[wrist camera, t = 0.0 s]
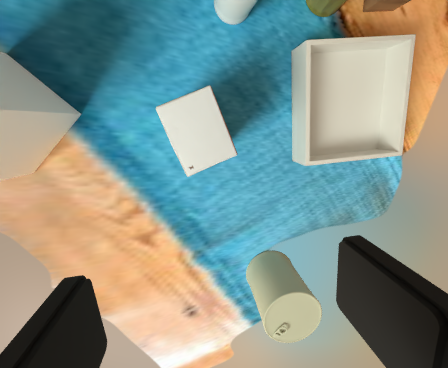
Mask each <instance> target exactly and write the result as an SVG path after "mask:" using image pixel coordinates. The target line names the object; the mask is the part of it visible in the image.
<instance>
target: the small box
mask: <svg viewBox="0 0 448 368" xmlns="http://www.w3.org/2000/svg"><path fill="white" fill-rule="evenodd" d="M156 111H157V113H158V115H159V118H160V120H161V122H162V124H163V127H164V129H165V131H166V133H167V136H168V138H169V140H170V142H171V145H172V147H173V149H174V151H175V153H176V155H177V157H178V159H179V161H180V163H181V165H182V167H183V169H184V171H185V173H186V175H187V177H189V176H191V175H193V174H195V173H197V172H200V171H202V170H204V169H206V168H209V167H211V166H213V165H215V164H217V163H220V162H222V161H224V160H227V159H229V158H231V157H234V156H236V155H237V152H236V149H235V146H234V144H233V141H232V139H231V136H230V133H229V131H228V128H227V126H226V123H225V121H224V118H223V116H222V113H221V111H220V108H219V106H218V103H217V101H216V98H215V95H214V93H213V90H212V88H211V86H207V87H204V88H202V89H199V90H197V91H194V92H192V93H189V94H187V95H184V96H182V97H179V98H177V99H174V100H172V101H169V102H167V103H164V104H162V105H160V106H157V107H156Z"/></svg>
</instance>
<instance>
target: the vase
mask: <svg viewBox="0 0 448 368" xmlns="http://www.w3.org/2000/svg"><path fill="white" fill-rule="evenodd" d="M346 1H347V0H306V3H307V6H308V7H309V9H310V10H311V12H312V13H314V14H315V15H317V16H320V17H327V16H330V15H332V14H333V13H335V12H336V11H337V10H338V9H339V8H340V7H341V6H342V5H343V4H344V3H345V2H346Z"/></svg>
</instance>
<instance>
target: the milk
mask: <svg viewBox="0 0 448 368" xmlns="http://www.w3.org/2000/svg"><path fill="white" fill-rule="evenodd" d="M80 115H81V114H80V113H79V112H78V111H77V110H75V109H74V108H73V107H72V106H70V105H69V104H68V103H67V102H66V101H64V100H63V99H62V98H61V97H59V96H58V95H57V94H56V93H54V92H53V91H52V90H51V89H49V88H48V87H47V86H46V85H44V84H43V83H42V82H41V81H40V80H38V79H37V78H36V77H35V76H33V75H32V74H31V73H30V72H28V71H27V70H26V69H25V68H23V67H22V66H21V65H20V64H19V63H17V62H16V61H15V60H14V59H12V58H11V57H10V56H9V55H7V54H6V53H2V52H0V181H3V180H8V179H12V178H16V177H21V176H25V175H29V174H33V173H34V172H35V171H36V169H37V168H38V167H39V166H40V165H41V163H42V162H43V161H44V160H45V158H46V157H47V156H48V155H49V153H50V152H51V151H52V150H53V149H54V147H55V146H56V145H57V144H58V142H59V141H60V140H61V139H62V137H63V136H64V135H65V134H66V133H67V131H68V130H69V129H70V128H71V126H72V125H73V124H74V123H75V121H76V120H77V119H78V118H79V116H80Z"/></svg>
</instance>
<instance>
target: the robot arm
mask: <svg viewBox="0 0 448 368" xmlns="http://www.w3.org/2000/svg"><path fill="white" fill-rule="evenodd" d="M336 296H337V297H336V301H337V304H338V307H339V308H340V310H341V311H342V313H343V314H344V315H345V316H346V318H347V319H348V320H349V321H350V323H351V324H352V325H353V326H354V328H355V329H356V330H357V331H358V333H359V334H360V335H361V337H363V339H364V340H365V342H366V343H367V344H368V345H369V347H370V348H371V349H372V350H373V352H374V353H375V354H376V355H377V357H378V358H379V359H380V361H381V362H382V363H383V364H384V365H385V367H386V368H448V294H447V293H446V292H444V291H443V290H441V289H440V288H438V287H437V286H435V285H434V284H432V283H431V282H429V281H428V280H426V279H425V278H423V277H422V276H420V275H419V274H417V273H416V272H414V271H413V270H411V269H410V268H408V267H407V266H405V265H404V264H402V263H401V262H399V261H397V260H396V259H395V258H393V257H392V256H390V255H389V254H387V253H386V252H384V251H383V250H381V249H380V248H378V247H377V246H375V245H374V244H372V243H371V242H369V241H368V240H366V239H365V238H363V237H362V236H360V235H357V236H350V237H345V238H343V240H342V242H340V243H339V253H338V274H337V295H336ZM106 347H107V338H106V334H105V330H104V327H103V323H102V319H101V315H100V312H99V308H98V304H97V300H96V297H95V293H94V289H93V286H92V282H91V280H90V279H86V277H85V276H83V275H82V276H75V277H68V278H64V279H63V280H62V281H61V282H60V283H59V285H58V286H57V287H56V288H55V289H54V291H53V292H52V293H51V294H50V295H49V297H48V298H47V299H46V300H45V301H44V303H43V304H42V305H41V306H40V307H39V309H38V310H37V311H36V312H35V313H34V315H33V316H32V317H31V318H30V319H29V321H28V322H27V323H26V324H25V325H24V327H23V328H22V329H21V330H20V331H19V333H18V334H17V335H16V336H15V337H14V338H13V340H12V341H11V342H10V343H9V344H8V346H7V347H6V348H5V349H4V351H3V352H2V353H1V354H0V368H99V367H100V364H101V362H102V359H103V357H104V354H105V351H106Z"/></svg>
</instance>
